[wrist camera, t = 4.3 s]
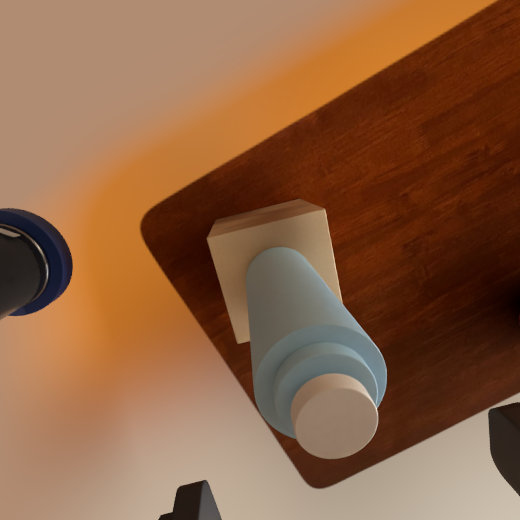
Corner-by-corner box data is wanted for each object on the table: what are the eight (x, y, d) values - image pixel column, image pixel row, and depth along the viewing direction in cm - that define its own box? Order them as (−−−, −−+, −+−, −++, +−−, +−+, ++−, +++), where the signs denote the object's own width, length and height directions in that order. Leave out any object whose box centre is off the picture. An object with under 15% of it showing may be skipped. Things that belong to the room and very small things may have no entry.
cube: (237, 298, 36) (237, 344, 26) (215, 219, 33) (206, 238, 24) (316, 278, 36) (345, 317, 26) (299, 198, 33) (325, 208, 24)
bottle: (254, 317, 26) (276, 503, 11) (238, 256, 24) (239, 377, 10) (318, 301, 26) (422, 466, 11) (305, 239, 24) (405, 335, 10)
